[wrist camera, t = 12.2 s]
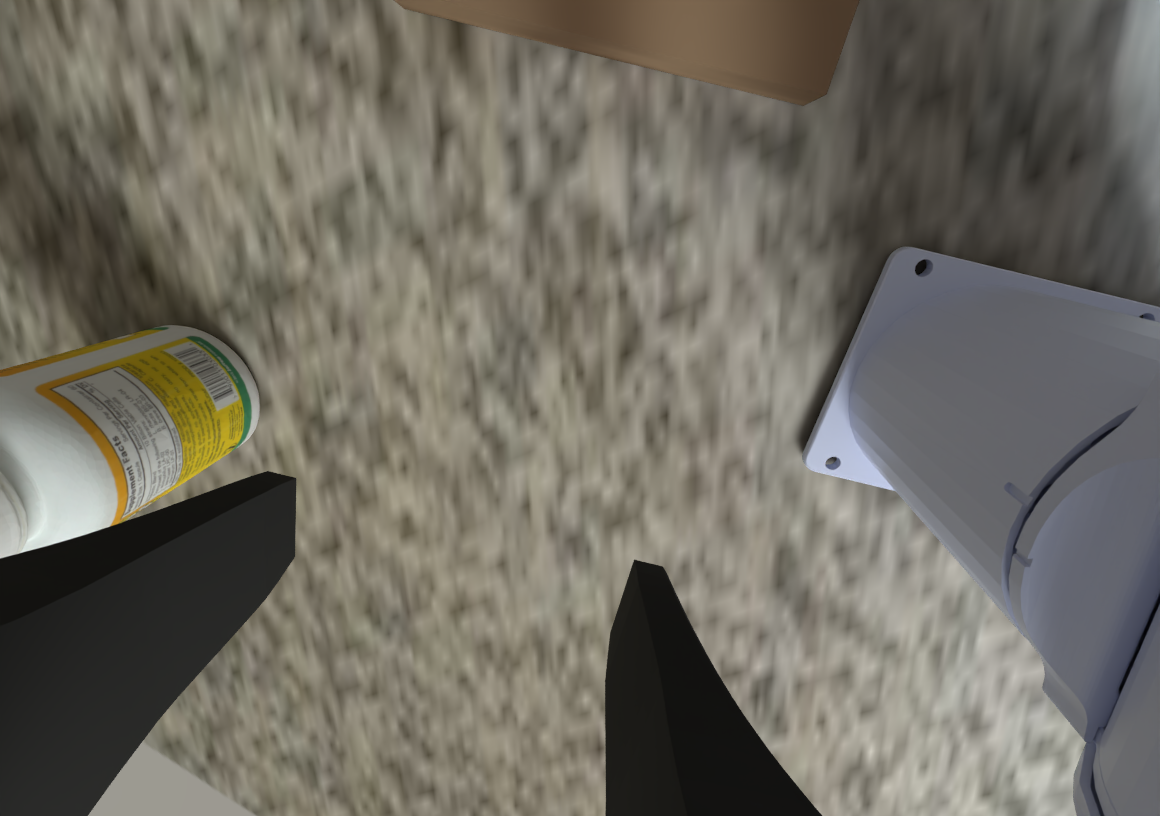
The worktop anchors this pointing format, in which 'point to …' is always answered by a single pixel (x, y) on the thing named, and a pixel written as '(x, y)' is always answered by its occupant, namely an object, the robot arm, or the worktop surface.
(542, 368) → the worktop surface
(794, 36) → the walnut plinth
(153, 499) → the supplement bottle
